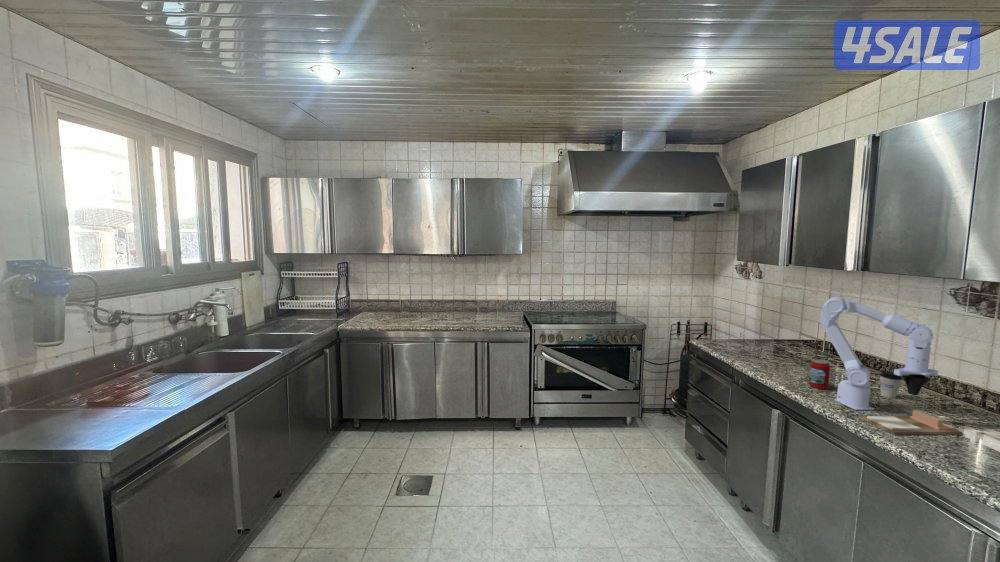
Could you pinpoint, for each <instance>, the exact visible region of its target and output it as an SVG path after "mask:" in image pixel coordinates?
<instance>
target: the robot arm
mask: <svg viewBox="0 0 1000 562" xmlns="http://www.w3.org/2000/svg"><path fill="white" fill-rule="evenodd" d="M844 311H845V313H846V314H850V313H851V314H854V313H856V314H859V315H862V316H864V317H867V318H869V319H871V320H872V319H873V320H875V321H877V322H879V323H881V324H882V327H883V328H886V329H887V330H890V331H892V332H895V333H896V334H898V335H901V336H905V337H909V343H908V344H907V349H906V350H907V351H906V356H905V365H904V367H902V368H900V367H899V368H894V369H893V373H894V374H895V375H898V376H900V377H902V379H903V380H904V382H905V384H906V389H907V393H908V394H909V395H912V396H918V395H919V394H920V391H921V390H922V388H923V386H925V384H926V383H928V382H929V381H930V377H928V376H934V377H938V376H939V375H938V374H939V370H936V369H933V368H929V364H930V358H931V349H932V348H931V345H932V340H934V334H933V331H932V329H931V328H930V327H928V326H927V325H925V324H922V323H920V322H917V321H912V320H909V319H907V318H905V317H903V315H901V314H898V313H897V314H895V313H891V314H885V313H883V312H881V311H878V310H876V309H874V308H872V307H869V306H867V305H865V304H862V303H860V302H857V301H855V300H853V299H848V298H844V297H843V296H838V295H836V296H832V297H830V298H829V299H827V300H826V301H825V302H824V304H823V306H822V307H821V313H820V317H819V323H820V325H821V327H822V329H823V330H824V331H825V334H826V335H827V336H828V339H829V340H830V342H831V344H832V345H833V347H834V349H835V350H836V352H837V354H838V356H839V357H840V359H841V361H842V363H843V365H844V369H845V371H846V373H847V379H843V380H841V381H840V382H839V383H838V385H837V392H836V398H834V401H835V402H838V403H839V404H842V405H844V406H846V407H848V408H851V409H853V410H855V411H875V410H876V408H874V407H873V406H872V407H871V406H869V404H870V396H871V388H872V385H871V384H870V379H871V377H872V373H871V370H870V369H869V368H867V367H866V366H865V365H864V364H863V362H862V361H861V360H860V359H859V358H858V357H857V354H856V353H855V352H854V350H853V348H852V347H851V344H850V342H849V341H848V340H847V338H846V336H845V334H844V333H843V331H842V329H841V327H840V326H839V325H838V323H837V320H838V319H839V317H840V315H841V314H842V313H843V312H844Z"/></svg>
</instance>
